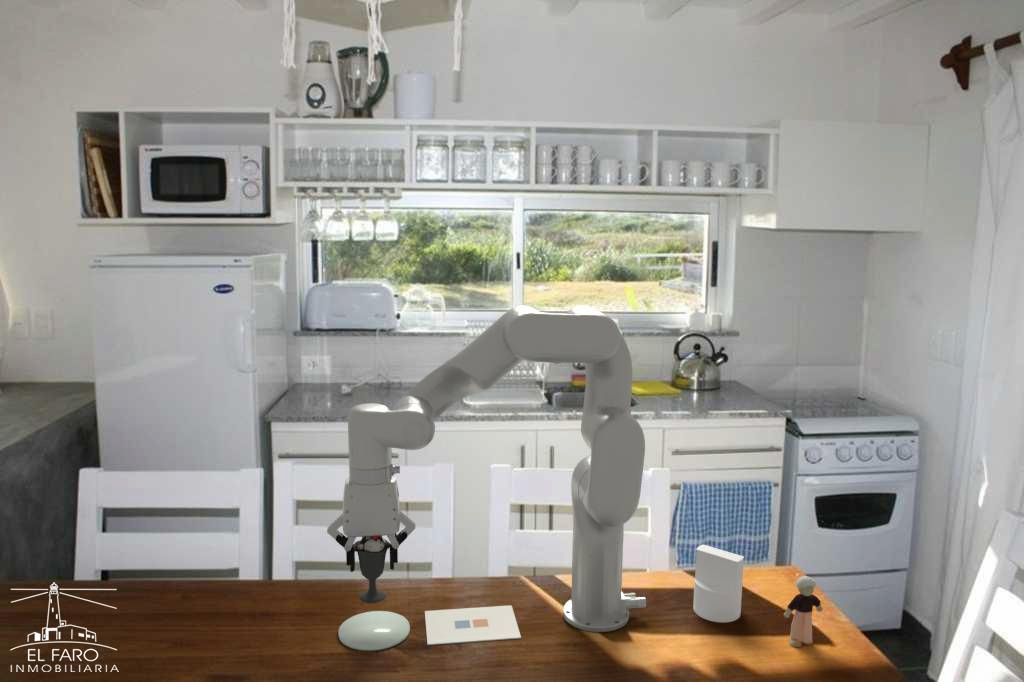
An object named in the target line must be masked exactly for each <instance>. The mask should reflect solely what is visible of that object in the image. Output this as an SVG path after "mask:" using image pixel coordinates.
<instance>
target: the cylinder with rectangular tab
mask: <svg viewBox="0 0 1024 682" xmlns="http://www.w3.org/2000/svg"><path fill="white" fill-rule="evenodd" d="M695 551H696V552H695V572H694V573H695V574H694V585H693V586H694V587H693V605H692V606H693V612H694V613H695V614H696V615H697V616H699V617H700V618H701V619H704V620H707V621H709V622H713V623H731V622H735V621H737V620H738V619H739V618H741V611H742V610H741V609H742V595H743V578H744V575H743V574H744V560H745V559H744V558H745V556H743V555H740V554H737V553H733V552H730V551H726V550H723V549H720V548H717V547H714V546H710V545H707V544H701V545H698V547H696V548H695Z"/></svg>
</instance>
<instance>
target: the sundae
mask: <svg viewBox="0 0 1024 682" xmlns="http://www.w3.org/2000/svg"><path fill="white" fill-rule="evenodd" d="M353 544H354V545H353V549H354V551H355V553H357V557H358V562H359V563H358V564H359V568H360V573H361V575H362V576H363V578H365V579H366V580H368V583H369V584H368V585H369V586H368V590H364V591H363V592H361V593H360V594H359V596H358V599H359V600H360V601H361V602H363V603H365V604H377V603H380V602H382V601H384V600H385V599H386V598H387V594H386V592H385V591H383V590H380V589H377V584H376V582H377V579H379V578H380V577H381V576H382V574H383V573H384V569H385V565H386V562H385V561H386V556H387V552H388V550H390V544H391V543H390V541H389V540H387V539H384V538H383V536H366V537H361V539H360V540H357V541H354V543H353Z"/></svg>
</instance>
